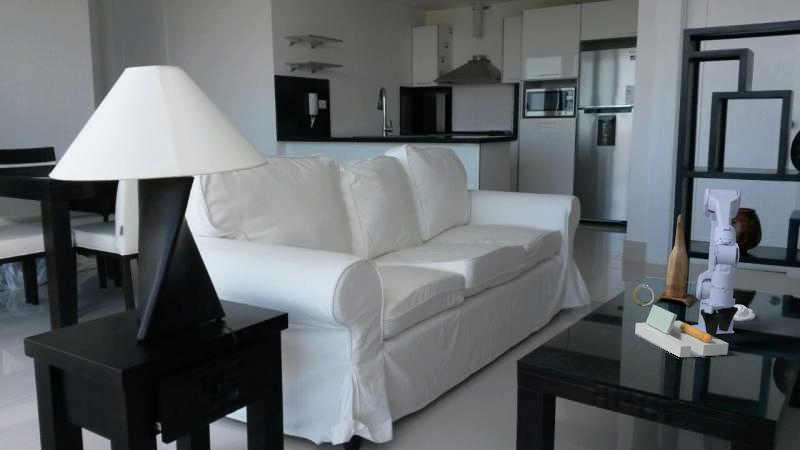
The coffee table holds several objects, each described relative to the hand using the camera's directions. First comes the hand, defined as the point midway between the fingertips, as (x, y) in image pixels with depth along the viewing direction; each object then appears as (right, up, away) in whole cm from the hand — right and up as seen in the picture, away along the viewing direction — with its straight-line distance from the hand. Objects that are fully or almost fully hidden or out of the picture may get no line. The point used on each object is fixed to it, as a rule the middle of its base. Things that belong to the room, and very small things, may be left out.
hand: (717, 333), depth 183 cm
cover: (-14, +3, +5) cm, 15 cm away
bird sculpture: (+9, +3, +48) cm, 49 cm away
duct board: (-10, -4, +2) cm, 11 cm away
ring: (-5, +2, +42) cm, 43 cm away
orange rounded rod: (-7, 0, -2) cm, 7 cm away
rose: (+23, 0, +31) cm, 39 cm away
